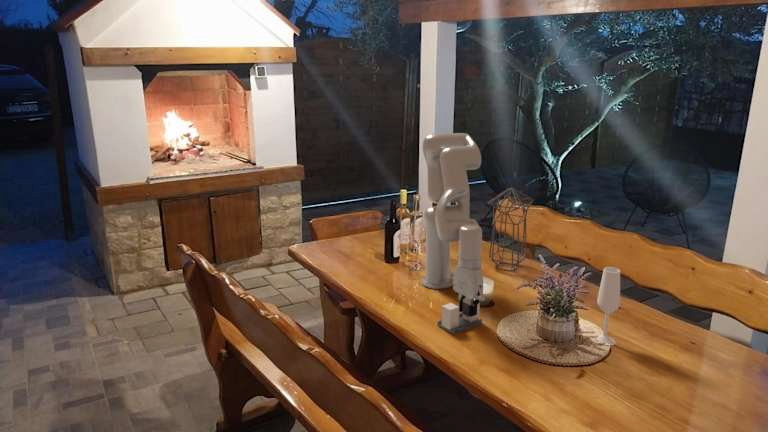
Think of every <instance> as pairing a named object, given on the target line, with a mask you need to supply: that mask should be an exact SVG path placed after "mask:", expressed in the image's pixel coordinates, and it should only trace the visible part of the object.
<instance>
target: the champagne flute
mask: <svg viewBox="0 0 768 432" xmlns="http://www.w3.org/2000/svg"><path fill="white" fill-rule="evenodd" d="M599 285H600V287H599V290H598V294H597V299H596V303H597V307H599V309H601V311H602V312H604V322H603V323H604V324H603V333H602V334H600V335H597V336H598V337H597V338H596V339H597V340H598V341H599V342H602V343H608V344H610V345H611V346H615V345H616V343H617V342H616V340H614V339H613V338H612V337H610V336H609V335H608V329H609V319H610V314H611V313H612V314H613V312H616V311H617V310H618V309H619V308H620V305H621V270H620V269H619V268H616V267H611V266H606V267H604V268H603V271H602V277H601V281H600V284H599ZM611 346H610V347H611Z"/></svg>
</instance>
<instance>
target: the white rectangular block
mask: <svg viewBox="0 0 768 432" xmlns="http://www.w3.org/2000/svg"><path fill="white" fill-rule="evenodd" d="M474 301H475V298H474ZM480 304H481V302H480V303H479V304H478V305H477V315H475V316H472V317H470V316H469V305H471V303H470V298H468V297H466V298H465V299H463V312H462V313H463V318H464V319H466V320H468V321H470V322H473V321H475V320H478V319H481V318H480V313H481V312H480V309H481V308H480V306H481V305H480Z"/></svg>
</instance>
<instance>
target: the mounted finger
mask: <svg viewBox="0 0 768 432" xmlns="http://www.w3.org/2000/svg"><path fill="white" fill-rule="evenodd" d="M459 314H460V312H459V305H456V304H454V303H452V302H449V303H446V304H444V305H441V320H442V324H441V325H442V326H444V327H446V328H448V329H449V330H450V329H453V328H455V327H458V326H459Z"/></svg>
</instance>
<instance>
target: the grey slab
mask: <svg viewBox="0 0 768 432" xmlns="http://www.w3.org/2000/svg"><path fill="white" fill-rule="evenodd" d="M441 324H442V319H441V320H438V321H437V327H439V328H440V329H442V330H444V331H446V332H449V334H452V335H453V336H454V335H457V334H459V333H462V332H464V331H467V330H470V329H472V328H475V327H478V326H480V325H482V324H483V319H482V318H480V319H478V320H475V321H473V322H470V321H468V320H466V319H464V318H463V312H459V326H458V327H455V328H453V329H450V330H449V329H448V328H446V327H444V326H442V325H441Z"/></svg>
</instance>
